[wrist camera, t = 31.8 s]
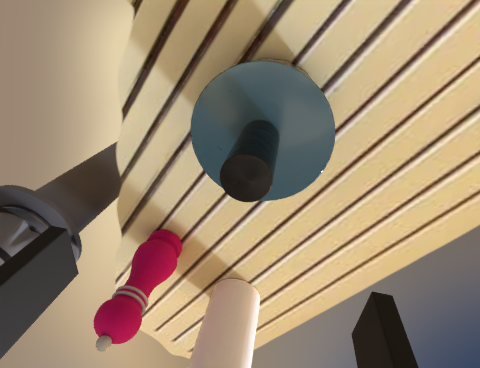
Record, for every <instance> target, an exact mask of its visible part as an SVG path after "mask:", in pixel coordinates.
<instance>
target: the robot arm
mask: <svg viewBox="0 0 480 368" xmlns="http://www.w3.org/2000/svg"><path fill="white" fill-rule="evenodd" d="M77 274H78V269H77V265H76V262H75V258H74V254H73V250H72V246H71V242H70V238H69V234H68V231H67V229H65V228H60V227H55V226H51V225H50V224H49V223H48V222H47V221H46V220H45V219H44V218H43V217H42V216H40V215H39V214H37V213H36V212H34V211H32V210H30V209H28V208H26V207H23V206H19V205H5V206H3V207H1V208H0V359H1V358H2V357H3V355H5V353H6V352H7V351H8V350H9V349H10V348H11V347H12V346H13V345H14V344H15V342H16V341H17V340H18V339H19V338H20V337H21V336H22V335H23V334H24V333H25V332H26V330H27V329H28V328H29V327H30V326H31V325H32V324H33V323H34V322H35V321H36V319H37V318H38V317H39V316H40V315H41V314H42V313H43V312H44V311H45V309H46V308H47V307H48V306H49V305H50V304H51V303H52V302H53V301H54V300H55V299H56V297H57V296H58V295H59V294H60V293H61V292H62V291H63V290H64V289H65V288H66V286H67V285H68V284H69V283H70V282H71V281H72V280H73V279H74V278H75V277H76V276H77ZM352 339H353V344H354V350H355V355H356V361H357V366H358V368H418V365H417V362H416V360H415V357H414V354H413V351H412V349H411V346H410V343H409V340H408V338H407V335H406V332H405V330H404V327H403V324H402V321H401V319H400V316H399V313H398V310H397V307H396V305H395V302H394V299H393V296H391V295H387V294H381V293H377V292H372V293H371V295H370V297H369V299H368V301H367V303H366V305H365V307H364V309H363V311H362V314H361V316H360V318H359V320H358V322H357V324H356V326H355V328H354V330H353V333H352Z"/></svg>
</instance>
